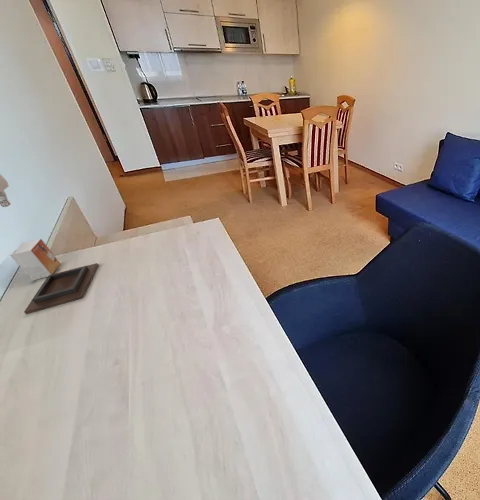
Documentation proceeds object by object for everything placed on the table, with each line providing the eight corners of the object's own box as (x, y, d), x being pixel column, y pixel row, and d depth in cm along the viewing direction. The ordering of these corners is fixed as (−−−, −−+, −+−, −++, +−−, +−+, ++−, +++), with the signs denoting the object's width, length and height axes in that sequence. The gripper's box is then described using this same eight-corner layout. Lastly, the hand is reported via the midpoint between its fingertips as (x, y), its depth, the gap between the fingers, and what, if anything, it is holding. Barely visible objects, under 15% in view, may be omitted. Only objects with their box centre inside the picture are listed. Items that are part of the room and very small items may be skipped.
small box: (52, 276, 101) (30, 250, 95) (32, 281, 100) (9, 255, 93) (61, 263, 107) (41, 238, 101) (42, 267, 106) (21, 242, 100)
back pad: (26, 314, 86) (19, 308, 85) (50, 277, 100) (45, 272, 99) (82, 298, 90) (77, 292, 89) (98, 265, 104) (94, 259, 102)
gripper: (-31, 160, 92) (3, 201, 100) (-76, 182, 77) (-31, 229, 85) (-5, 156, 94) (26, 197, 102) (-44, 177, 79) (-3, 223, 86)
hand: (0, 211), depth 93 cm, fingers open, 8 cm apart
